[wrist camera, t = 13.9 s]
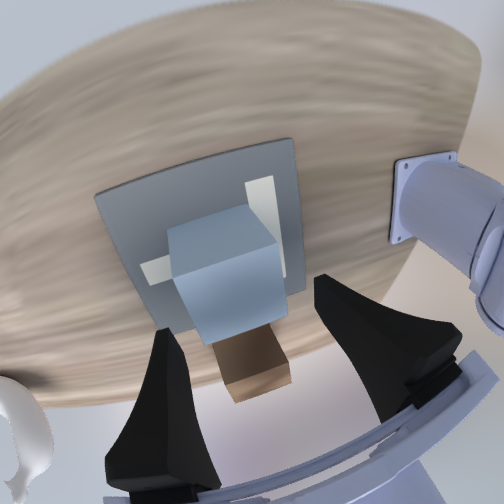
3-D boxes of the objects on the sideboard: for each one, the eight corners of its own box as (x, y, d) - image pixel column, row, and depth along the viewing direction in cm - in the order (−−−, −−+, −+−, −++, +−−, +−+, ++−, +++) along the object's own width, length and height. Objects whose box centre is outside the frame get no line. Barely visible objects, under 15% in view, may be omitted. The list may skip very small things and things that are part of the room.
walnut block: (288, 362, 19) (291, 382, 21) (265, 317, 23) (270, 341, 25) (224, 385, 18) (235, 403, 20) (210, 337, 22) (220, 359, 24)
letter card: (289, 137, 16) (292, 138, 15) (303, 285, 23) (306, 289, 22) (95, 194, 14) (93, 197, 13) (163, 333, 21) (164, 337, 20)
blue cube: (246, 203, 17) (278, 242, 13) (259, 267, 19) (288, 315, 15) (167, 229, 16) (172, 278, 12) (191, 291, 19) (205, 345, 15)
